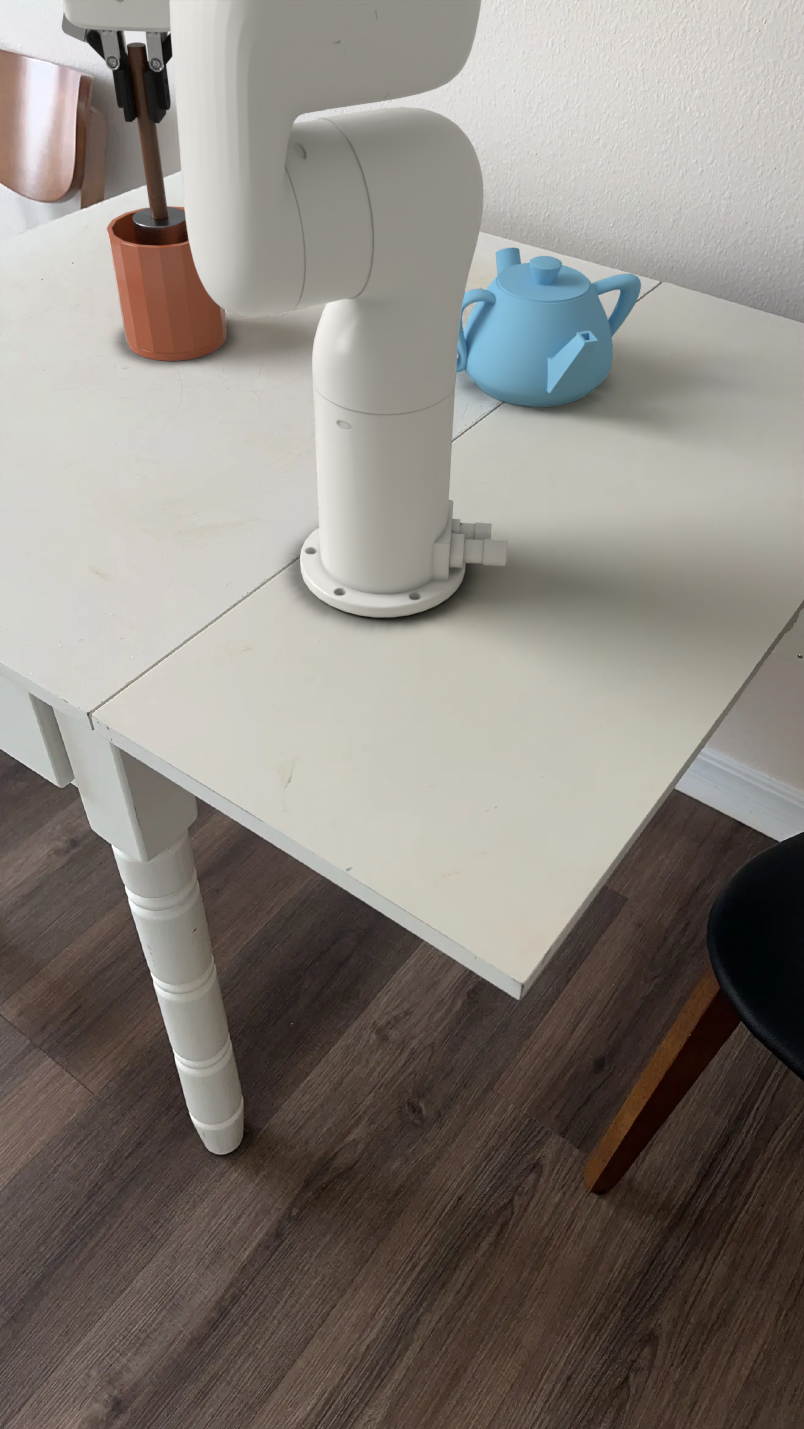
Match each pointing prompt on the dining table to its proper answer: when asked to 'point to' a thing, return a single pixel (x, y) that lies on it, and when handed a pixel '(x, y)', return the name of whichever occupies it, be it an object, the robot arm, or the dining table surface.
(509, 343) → the teapot
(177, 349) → the holder
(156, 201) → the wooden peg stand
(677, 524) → the dining table surface
